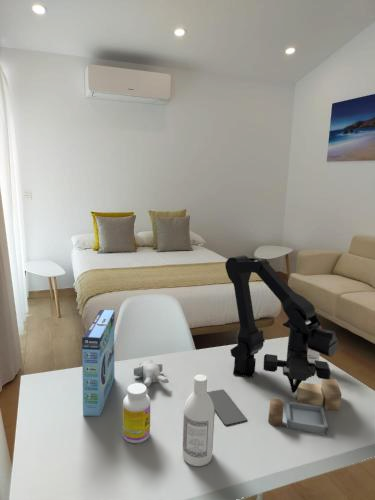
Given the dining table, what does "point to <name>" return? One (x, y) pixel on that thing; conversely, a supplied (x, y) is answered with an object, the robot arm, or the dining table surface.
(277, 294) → the robot arm
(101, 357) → the light blue cardboard box
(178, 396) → the dining table surface
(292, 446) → the dining table surface
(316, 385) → the tan beveled block
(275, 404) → the dowel
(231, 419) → the smartphone
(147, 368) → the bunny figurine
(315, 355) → the beer can
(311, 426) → the tray
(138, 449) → the dining table surface
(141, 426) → the supplement bottle
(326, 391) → the block
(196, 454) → the bath foam
